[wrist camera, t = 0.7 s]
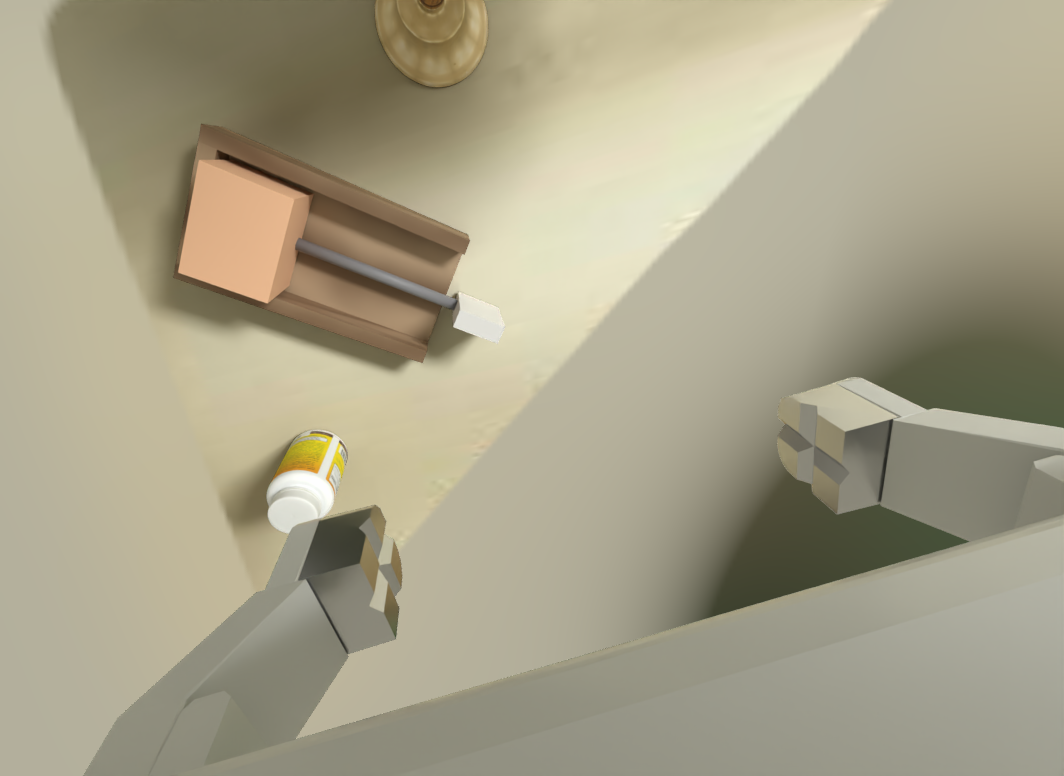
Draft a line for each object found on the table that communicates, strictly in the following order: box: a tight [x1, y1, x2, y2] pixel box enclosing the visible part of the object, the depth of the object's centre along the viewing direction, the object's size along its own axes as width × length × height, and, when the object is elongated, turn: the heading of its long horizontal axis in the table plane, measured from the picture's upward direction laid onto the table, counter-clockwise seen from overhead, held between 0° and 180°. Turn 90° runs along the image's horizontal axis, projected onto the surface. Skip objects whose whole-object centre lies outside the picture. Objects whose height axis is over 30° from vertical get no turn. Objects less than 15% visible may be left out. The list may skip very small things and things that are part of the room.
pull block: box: [178, 160, 505, 344], centre depth 40 cm, size 8×24×6 cm, turn 65°
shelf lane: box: [173, 124, 470, 363], centre depth 41 cm, size 12×20×4 cm, turn 65°
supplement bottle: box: [266, 430, 348, 534], centre depth 45 cm, size 6×6×10 cm
